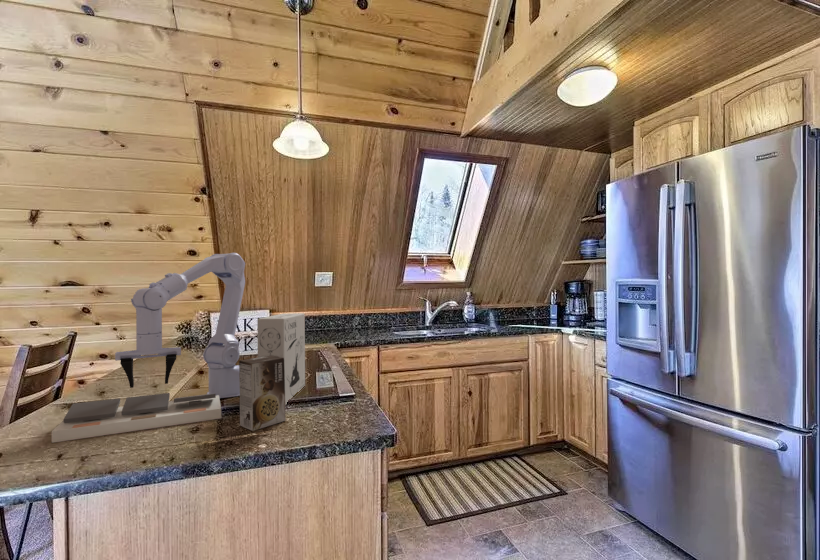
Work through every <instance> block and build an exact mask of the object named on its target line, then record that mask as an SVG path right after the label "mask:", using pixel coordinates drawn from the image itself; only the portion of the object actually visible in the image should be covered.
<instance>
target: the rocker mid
mask: <svg viewBox="0 0 820 560" xmlns="http://www.w3.org/2000/svg"><path fill="white" fill-rule="evenodd" d="M170 394H171V393H170V392H165V393H156V394H147V395H138V396H130V397H129V396H128V397H126V398H125V402H124V404H123V406H122V407H123V409H122V412H121V414H122V416H124V415H132V414H140V413H147V412H155V411H163V410H168V404H169V401H170Z"/></svg>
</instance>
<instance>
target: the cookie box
mask: <svg viewBox="0 0 820 560" xmlns="http://www.w3.org/2000/svg"><path fill="white" fill-rule="evenodd" d="M238 361H239V362H238V363H239V364H238V365H239V379H240V396H239V426H240V427H243V428H245V429H247V430H250V431H252V432H254V431H257V430H260V429H264V428H266V427H270V426H273V425H277V424H279V423H283V422H285V421H286V418H287V417H286V405H285V370H284V358H282V357H278V356H274V355H269V356H263V357H258V356H257V357H252V358H247V359H240V360H238Z"/></svg>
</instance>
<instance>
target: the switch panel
mask: <svg viewBox="0 0 820 560" xmlns="http://www.w3.org/2000/svg"><path fill="white" fill-rule="evenodd" d="M220 399H221V398H219V395H216V398H209V399H201V400H193V401H185V402H177V403H174V400H169V404H168V410H163V411H155V412H147V413H140V414H132V415H124V416H122V414H121V412H122V409H123V406H119V407H118V409H117V412H116V414H115V417H109V418H102V419H94V420H86V421H78V422H70V423H64V422H63V420H62V421H61V422H60V423H59V424H58V425H56V427H54V428H53V429H52V431H51V443H59V442H67V441H72V440H79V439H80V440H81V439H87V438H93V437H94V438H95V437H101V436H108V435H115V434H121V433H127V432H128V433H130V432H136V431H144V430H149V429H156V428H163V427H171V426H177V425H184V424H190V423H198V422H205V421H206V422H207V421H212V420H218V419H222V406H221V405H222V403H221V400H220Z"/></svg>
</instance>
